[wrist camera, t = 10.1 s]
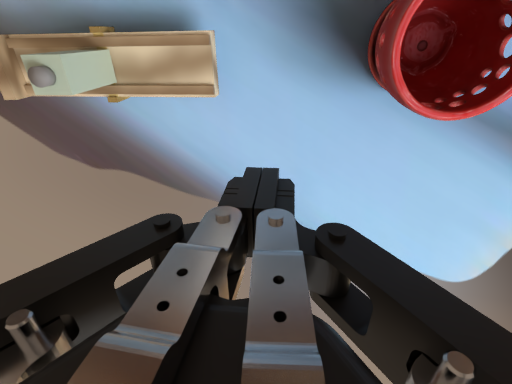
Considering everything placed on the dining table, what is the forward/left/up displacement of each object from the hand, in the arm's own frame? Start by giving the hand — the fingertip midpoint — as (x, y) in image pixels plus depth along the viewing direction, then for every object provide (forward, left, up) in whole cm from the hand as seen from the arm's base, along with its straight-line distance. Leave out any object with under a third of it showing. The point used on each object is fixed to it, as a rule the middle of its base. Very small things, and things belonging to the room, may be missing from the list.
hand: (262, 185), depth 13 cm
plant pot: (-5, +16, -29) cm, 34 cm away
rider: (-3, -22, -23) cm, 32 cm away
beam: (-3, -21, -29) cm, 36 cm away
